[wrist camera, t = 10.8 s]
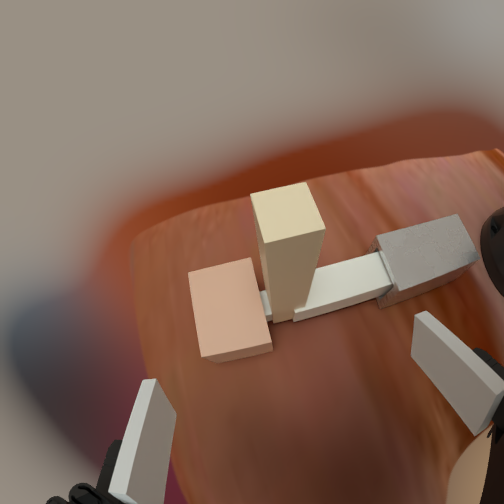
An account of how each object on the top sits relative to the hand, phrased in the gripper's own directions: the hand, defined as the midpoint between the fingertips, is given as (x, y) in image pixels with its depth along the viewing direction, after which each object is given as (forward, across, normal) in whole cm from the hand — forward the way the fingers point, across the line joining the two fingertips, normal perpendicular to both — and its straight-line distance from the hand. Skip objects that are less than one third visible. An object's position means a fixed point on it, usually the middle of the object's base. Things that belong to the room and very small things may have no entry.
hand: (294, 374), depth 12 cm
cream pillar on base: (+16, +6, -5) cm, 17 cm away
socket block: (+16, -4, -6) cm, 18 cm away
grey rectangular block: (+17, +18, -6) cm, 25 cm away
